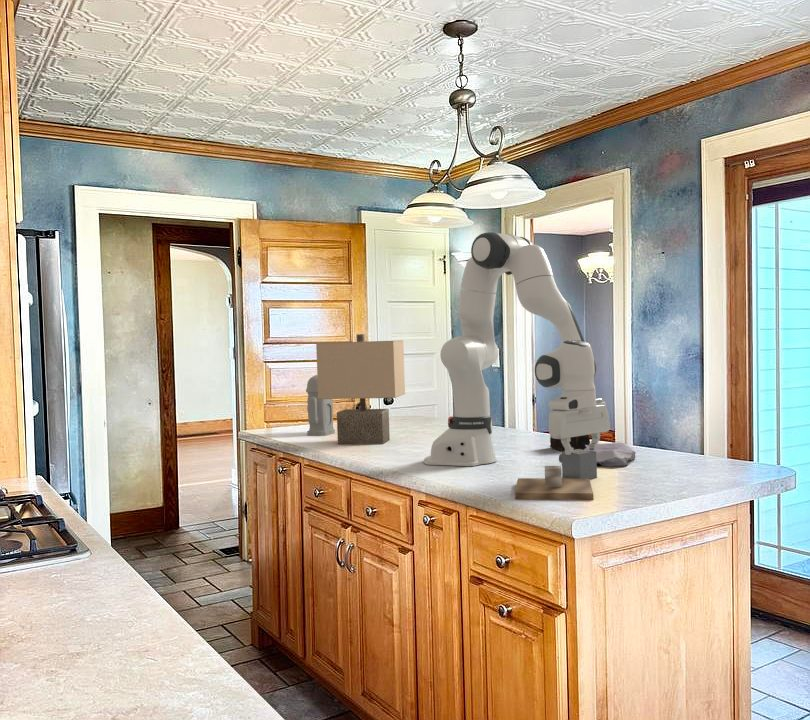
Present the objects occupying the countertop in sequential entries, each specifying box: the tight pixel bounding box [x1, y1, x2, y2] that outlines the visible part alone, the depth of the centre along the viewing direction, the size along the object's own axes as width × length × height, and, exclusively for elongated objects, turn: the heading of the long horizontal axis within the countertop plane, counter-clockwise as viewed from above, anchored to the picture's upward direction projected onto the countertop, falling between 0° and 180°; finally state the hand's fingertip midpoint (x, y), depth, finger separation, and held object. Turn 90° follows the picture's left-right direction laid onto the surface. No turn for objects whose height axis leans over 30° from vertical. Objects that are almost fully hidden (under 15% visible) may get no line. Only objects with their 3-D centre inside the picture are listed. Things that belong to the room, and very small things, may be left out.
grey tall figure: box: [305, 374, 336, 437], centre depth 311 cm, size 15×10×25 cm
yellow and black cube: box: [549, 434, 591, 452], centre depth 249 cm, size 10×10×10 cm
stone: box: [584, 442, 637, 467], centre depth 222 cm, size 20×15×5 cm
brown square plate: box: [514, 465, 595, 501], centre depth 182 cm, size 18×18×6 cm
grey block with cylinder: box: [558, 449, 598, 480], centre depth 200 cm, size 6×9×7 cm
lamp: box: [315, 333, 406, 445], centre depth 281 cm, size 29×18×41 cm, turn 79°
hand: (581, 452), depth 198 cm, fingers open, 8 cm apart
